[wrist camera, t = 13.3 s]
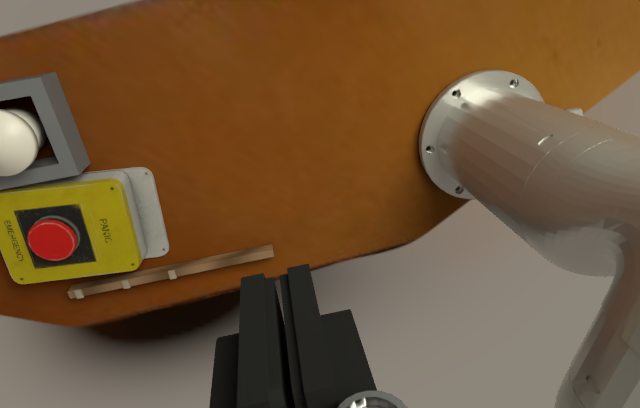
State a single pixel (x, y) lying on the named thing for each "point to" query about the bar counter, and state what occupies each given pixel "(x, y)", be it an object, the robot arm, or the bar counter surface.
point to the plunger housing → (48, 130)
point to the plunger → (19, 140)
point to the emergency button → (81, 225)
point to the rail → (170, 271)
